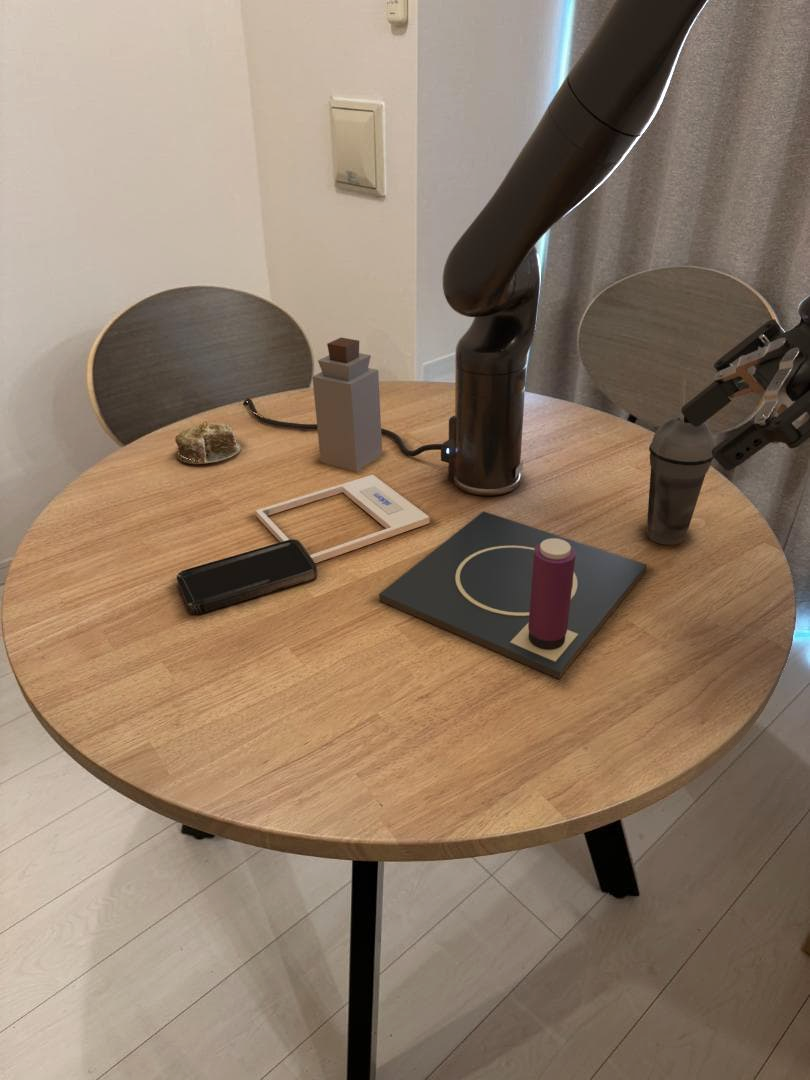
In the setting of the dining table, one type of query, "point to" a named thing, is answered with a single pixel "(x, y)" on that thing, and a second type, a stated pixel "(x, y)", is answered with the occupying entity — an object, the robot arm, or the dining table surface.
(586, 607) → the slate board
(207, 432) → the cake
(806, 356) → the robot arm
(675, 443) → the beverage cup
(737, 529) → the dining table surface
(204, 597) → the phone
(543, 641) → the dot marker
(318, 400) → the perfume bottle
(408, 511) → the photo frame
